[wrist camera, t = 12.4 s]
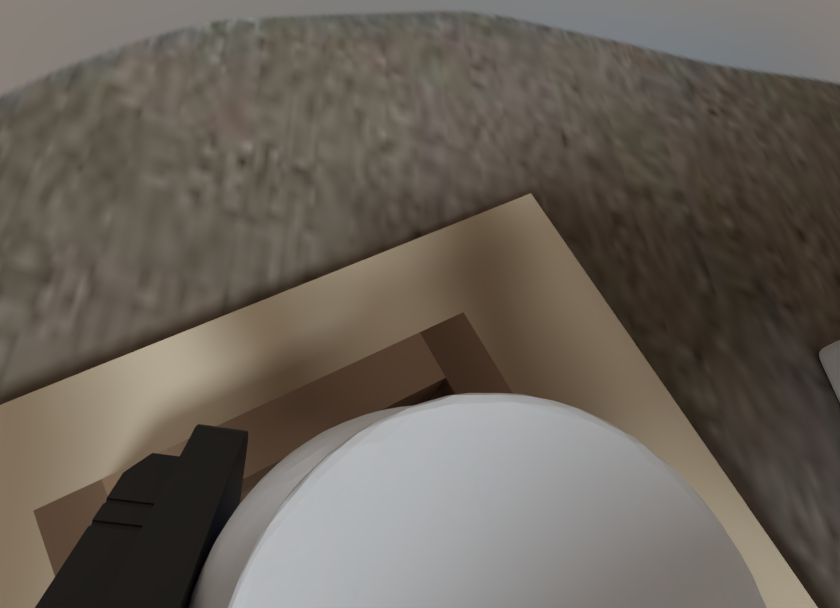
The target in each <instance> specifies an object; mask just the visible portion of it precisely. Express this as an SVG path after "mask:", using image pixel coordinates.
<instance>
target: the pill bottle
mask: <svg viewBox="0 0 840 608" xmlns="http://www.w3.org/2000/svg"><path fill="white" fill-rule="evenodd" d="M188 608H767V607H766V605H765V603H764V601H763V599H762V597H761V595H760V592H759V590H758V587H757V585H756V582H755V580H754V578H753V575H752V573H751V572H750V570H749V568H748V566H747V564H746V563H745V561H744V559H743V557H742V555H741V554H740V552H739V550H738V549H737V547H736V546H735V544H734V543H733V541H732V540H731V538H730V537H729V535H728V534H727V532H726V530H725V529H724V527H723V526H722V524H721V523H720V521H719V520H718V519H717V517H716V516H715V515H714V513H713V512H712V511H711V510H710V508H709V507H708V506H707V504H706V503H705V502H704V500H703V499H702V498H701V497H700V496H699V494H698V493H697V492H696V491H695V490H694V489H693V488H692V487H691V486H690V485H689V484H688V483H687V482H686V481H685V480H684V479H683V478H682V477H681V476H680V475H679V474H678V472H677V471H676V470H675V469H674V468H672V467H671V466H670V465H669V464H667V463H666V462H665V461H664V460H663V459H661V458H660V457H659V456H658V455H656V454H655V453H654V452H653V451H651V450H650V449H649V448H648V447H647V446H645V445H644V444H643V443H641V442H640V441H639V440H637V439H636V438H635V437H633V436H631V435H629V434H627V433H625V432H623V431H622V430H621V429H619V428H618V427H616V426H614V425H613V424H611V423H609V422H607V421H605V420H603V419H601V418H599V417H597V416H594V415H592V414H590V413H588V412H586V411H584V410H581V409H579V408H576V407H573V406H570V405H566V404H563V403H560V402H557V401H553V400H548V399H543V398H537V397H533V396H528V395H524V394H510V393H465V394H457V395H449V396H444V397H441V398H437V399H434V400H430V401H427V402H424V403H420V404H417V405H414V406H404V407H396V408H391V409H385V410H380V411H376V412H373V413H369V414H365V415H363V416H360V417H357V418H354V419H352V420H349V421H346V422H343V423H341V424H339V425H337V426H335V427H332V428H330V429H328V430H326V431H324V432H322V433H320V434H319V435H317V436H315V437H314V438H312V439H311V440H309V441H308V442H306V443H304V444H303V445H301V446H300V447H299V448H297V449H296V450H294V451H293V452H291V453H290V454H289V455H288V456H286V457H285V458H284V459H283V460H282V461H280V462H279V463H278V464H277V465H276V466H275V467H274V468H273V469H272V470H270V471H269V472H268V473H267V474H266V475H265V476H264V477H263V478H262V479H261V480H260V481H259V482H258V483H257V484H256V486H255V487H254V488H253V489H252V490H251V491H250V493H249V494H248V495H247V496H246V497H245V498H244V500H243V501H242V502H241V503H240V504H239V506H238V507H237V509H236V510H235V511H234V513H233V514H232V516H231V517H230V519H229V520H228V522H227V523H226V525H225V527H224V528H223V530H222V531H221V533H220V535H219V536H218V538H217V540H216V541H215V543H214V545H213V547H212V549H211V551H210V553H209V555H208V558H207V560H206V562H205V564H204V566H203V568H202V570H201V573H200V575H199V578H198V580H197V582H196V585H195V587H194V590H193V593H192V595H191V598H190V602H189V606H188Z"/></svg>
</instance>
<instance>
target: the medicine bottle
mask: <svg viewBox="0 0 840 608" xmlns="http://www.w3.org/2000/svg"><path fill="white" fill-rule="evenodd" d="M819 358H820V361H821V364H822V366H823V368H824V370H825V372H826V374H827V377H828V379H829V381H830V383H831V385H832V387H833V390H834V392H835V394H836V396H837V398H838V400H839V403H840V340H838V341H836V342H834V343H832V344H830V345H828V346H826V347H824V348H822V349H821V350H820V352H819Z"/></svg>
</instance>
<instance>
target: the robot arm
mask: <svg viewBox="0 0 840 608" xmlns="http://www.w3.org/2000/svg"><path fill="white" fill-rule="evenodd" d="M247 445H248V431H247V430H240V429H232V428H225V427H218V426H210V425H203V424H197V425H196V427H195V428H194V430H193V432H192V434H191V436H190V438H189V440H188V442H187V443H186V445H185V447H184V449H183V451H182V453H181V455H180V456H173V455H165V454H158V453H152V454H150V455H149V456H147V457H146V458H144V459H143V460H141V461H140V462H138V463H137V464H135V465H134V466H132V467H131V468H129V469H128V470H126V471H125V472H123V474H122V475H121V477H120V478H119V480H118V481H117V483H116V484H115V486H114V487H113V489H112V491H111V492H110V494H109V495H108V497H107V499H106V503H103V504H102V506H101V507H100V509H99V510H98V512H97V513H96V515H95V517H94V518H93V520H92V524H91V526H88V527H87V529H86V530H85V532H84V533H83V535H82V536H81V538H80V539H79V541H78V543H77V544H76V546H75V547H74V549H73V550H72V552H71V553H70V555H69V556H68V558H67V559H66V561H65V562H64V564H63V565H62V567H61V568H60V570H59V572H58V573H57V575H56V576H55V578H54V579H53V581H52V582H51V584H50V585H49V587H48V588H47V590H46V591H45V593H44V594H43V596H42V598H41V599H40V601H39V602H38V604H37V605H36V607H35V608H188V606H189V602H190V598H191V595H192V593H193V590H194V587H195V585H196V582H197V580H198V578H199V575H200V573H201V570H202V568H203V566H204V564H205V562H206V560H207V558H208V555H209V553H210V551H211V549H212V547H213V545H214V543H215V541H216V540H217V538H218V536H219V535H220V533H221V531H222V530H223V528H224V527H225V525H226V523H227V522H228V520H229V519H230V517H231V516H232V514H233V513H234V511H235V510H236V509H237V507H238V506H239V504H240V499H241V491H242V484H243V476H244V468H245V460H246V453H247Z"/></svg>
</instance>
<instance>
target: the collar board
mask: <svg viewBox="0 0 840 608" xmlns="http://www.w3.org/2000/svg"><path fill="white" fill-rule="evenodd" d="M465 393H510V394H524V395H528V396H533V397H537V398H543V399H548V400H553V401H557V402H560V403H563V404H566V405H570V406H573V407H576V408H579V409H581V410H584V411H586V412H588V413H590V414H592V415H594V416H597V417H599V418H601V419H603V420H605V421H607V422H609V423H611V424H613V425H614V426H616V427H618V428H619V429H621V430H622V431H623V432H625V433H627V434H629V435H631V436H633V437H635V438H636V439H637V440H639V441H640V442H641V443H643V444H644V445H645V446H647V447H648V448H649V449H650V450H651V451H653V452H654V453H655V454H656V455H658V456H659V457H660V458H661V459H663V460H664V461H665V462H666V463H667V464H669V465H670V466H671V467H672V468H674V469H675V470H676V471H677V472H678V474H679V475H680V476H681V477H682V478H683V479H684V480H685V481H686V482H687V483H688V484H689V485H690V486H691V487H692V488H693V489H694V490H695V491H696V492H697V493H698V494H699V496H700V497H701V498H702V499H703V500H704V502H705V503H706V504H707V506H708V507H709V508H710V510H711V511H712V512H713V513H714V515H715V516H716V517H717V519H718V520H719V521H720V523H721V524H722V526H723V527H724V529H725V530H726V532H727V534H728V535H729V537H730V538H731V540H732V541H733V543H734V544H735V546H736V547H737V549H738V550H739V552H740V554H741V555H742V557H743V559H744V561H745V563H746V564H747V566H748V568H749V570H750V572H751V573H752V575H753V578H754V580H755V582H756V585H757V587H758V590H759V592H760V595H761V597H762V599H763V601H764V603H765V605H766V607H767V608H818V607H817V606H816V604H815V603H814V601H813V600H812V598H811V597H810V596H809V594H808V593H807V591H806V590H805V588H804V587H803V585H802V584H801V583H800V581H799V580H798V578H797V577H796V575H795V574H794V572H793V571H792V570H791V568H790V567H789V565H788V564H787V562H786V561H785V559H784V558H783V557H782V555H781V554H780V552H779V551H778V549H777V548H776V546H775V545H774V544H773V542H772V541H771V539H770V538H769V536H768V535H767V533H766V532H765V531H764V529H763V528H762V526H761V525H760V523H759V522H758V520H757V519H756V518H755V516H754V515H753V513H752V512H751V510H750V509H749V507H748V506H747V505H746V503H745V502H744V500H743V499H742V497H741V496H740V494H739V493H738V492H737V490H736V489H735V487H734V486H733V484H732V483H731V481H730V480H729V479H728V477H727V476H726V474H725V473H724V471H723V470H722V468H721V467H720V466H719V464H718V463H717V461H716V460H715V458H714V457H713V455H712V454H711V453H710V451H709V450H708V448H707V447H706V445H705V444H704V442H703V441H702V440H701V438H700V437H699V435H698V434H697V432H696V431H695V429H694V428H693V427H692V425H691V424H690V422H689V421H688V419H687V418H686V416H685V415H684V414H683V412H682V411H681V409H680V408H679V406H678V405H677V403H676V402H675V401H674V399H673V398H672V396H671V395H670V393H669V392H668V390H667V389H666V388H665V386H664V385H663V383H662V382H661V380H660V379H659V377H658V376H657V375H656V373H655V372H654V370H653V369H652V367H651V366H650V364H649V363H648V362H647V360H646V359H645V357H644V356H643V354H642V353H641V351H640V350H639V349H638V347H637V346H636V344H635V343H634V341H633V340H632V338H631V337H630V336H629V334H628V333H627V331H626V330H625V328H624V327H623V325H622V324H621V323H620V321H619V320H618V318H617V317H616V315H615V314H614V312H613V311H612V310H611V308H610V307H609V305H608V304H607V302H606V301H605V299H604V298H603V297H602V295H601V294H600V292H599V291H598V289H597V288H596V286H595V285H594V284H593V282H592V281H591V279H590V278H589V276H588V275H587V273H586V272H585V271H584V269H583V268H582V266H581V265H580V263H579V262H578V260H577V259H576V258H575V256H574V255H573V253H572V252H571V250H570V249H569V247H568V246H567V245H566V243H565V242H564V240H563V239H562V237H561V236H560V234H559V233H558V232H557V230H556V229H555V227H554V226H553V224H552V223H551V221H550V220H549V219H548V217H547V216H546V214H545V213H544V211H543V210H542V208H541V207H540V206H539V204H538V203H537V201H536V200H535V198H534V197H533V195H532V194H531V193H530V194H528V195H525V196H523V197H520V198H518V199H515V200H513V201H510V202H508V203H505V204H503V205H500V206H498V207H495V208H493V209H490V210H488V211H485V212H483V213H480V214H477V215H475V216H472V217H470V218H467V219H465V220H462V221H460V222H457V223H455V224H452V225H450V226H447V227H445V228H442V229H440V230H437V231H435V232H432V233H430V234H427V235H425V236H422V237H420V238H417V239H415V240H412V241H410V242H407V243H405V244H402V245H400V246H397V247H395V248H392V249H390V250H387V251H385V252H382V253H380V254H377V255H375V256H372V257H370V258H367V259H365V260H362V261H360V262H357V263H355V264H352V265H350V266H347V267H345V268H342V269H340V270H337V271H335V272H332V273H330V274H327V275H325V276H322V277H320V278H317V279H314V280H312V281H309V282H307V283H304V284H302V285H299V286H297V287H294V288H292V289H289V290H287V291H284V292H282V293H279V294H277V295H274V296H272V297H269V298H267V299H264V300H262V301H259V302H257V303H254V304H252V305H249V306H247V307H244V308H242V309H239V310H237V311H234V312H232V313H229V314H227V315H224V316H222V317H219V318H217V319H214V320H212V321H209V322H207V323H204V324H202V325H199V326H197V327H194V328H192V329H189V330H187V331H184V332H182V333H179V334H177V335H174V336H172V337H169V338H167V339H164V340H162V341H159V342H157V343H154V344H151V345H149V346H146V347H144V348H141V349H139V350H136V351H134V352H131V353H129V354H126V355H124V356H121V357H119V358H116V359H114V360H111V361H109V362H106V363H104V364H101V365H99V366H96V367H94V368H91V369H89V370H86V371H84V372H81V373H79V374H76V375H74V376H71V377H69V378H66V379H64V380H61V381H59V382H56V383H54V384H51V385H49V386H46V387H44V388H41V389H39V390H36V391H34V392H31V393H29V394H26V395H24V396H21V397H19V398H16V399H14V400H11V401H9V402H6V403H4V404H1V405H0V608H35V607H36V605H37V604H38V602H39V601H40V599H41V598H42V596H43V594H44V593H45V591H46V590H47V588H48V587H49V585H50V584H51V582H52V581H53V579H54V578H55V576H56V575H57V573H58V572H59V570H60V568H61V567H62V565H63V564H64V562H65V561H66V559H67V558H68V556H69V555H70V553H71V552H72V550H73V549H74V547H75V546H76V544H77V543H78V541H79V539H80V538H81V536H82V535H83V533H84V532H85V530H86V529H87V527H88V526H91V524H92V520H93V518H94V517H95V515H96V513H97V512H98V510H99V509H100V507H101V506H102V504H103V503H106V499H107V497H108V495H109V494H110V492H111V491H112V489H113V487H114V486H115V484H116V483H117V481H118V480H119V478H120V477H121V475H122V474H123V472H125V471H126V470H128V469H129V468H131V467H132V466H134V465H135V464H137V463H138V462H140V461H141V460H143V459H144V458H146V457H147V456H149V455H150V454H152V453H158V454H165V455H173V456H180V455H181V453H182V451H183V449H184V447H185V445H186V443H187V442H188V440H189V438H190V436H191V434H192V432H193V430H194V428H195V427H196V425H197V424H203V425H210V426H218V427H225V428H232V429H240V430H247V431H248V445H247V453H246V460H245V468H244V476H243V484H242V491H241V499H240V503H241V502H242V501H243V500H244V498H245V497H246V496H247V495H248V494H249V493H250V491H251V490H252V489H253V488H254V487H255V486H256V484H257V483H258V482H259V481H260V480H261V479H262V478H263V477H264V476H265V475H266V474H267V473H268V472H269V471H270V470H272V469H273V468H274V467H275V466H276V465H277V464H278V463H279V462H280V461H282V460H283V459H284V458H285V457H286V456H288V455H289V454H290V453H291V452H293V451H294V450H296V449H297V448H299V447H300V446H301V445H303V444H304V443H306V442H308V441H309V440H311V439H312V438H314V437H315V436H317V435H319V434H320V433H322V432H324V431H326V430H328V429H330V428H332V427H335V426H337V425H339V424H341V423H343V422H346V421H349V420H352V419H354V418H357V417H360V416H363V415H365V414H369V413H373V412H376V411H380V410H385V409H391V408H396V407H404V406H414V405H417V404H420V403H424V402H427V401H430V400H434V399H437V398H441V397H444V396H449V395H457V394H465Z"/></svg>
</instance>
